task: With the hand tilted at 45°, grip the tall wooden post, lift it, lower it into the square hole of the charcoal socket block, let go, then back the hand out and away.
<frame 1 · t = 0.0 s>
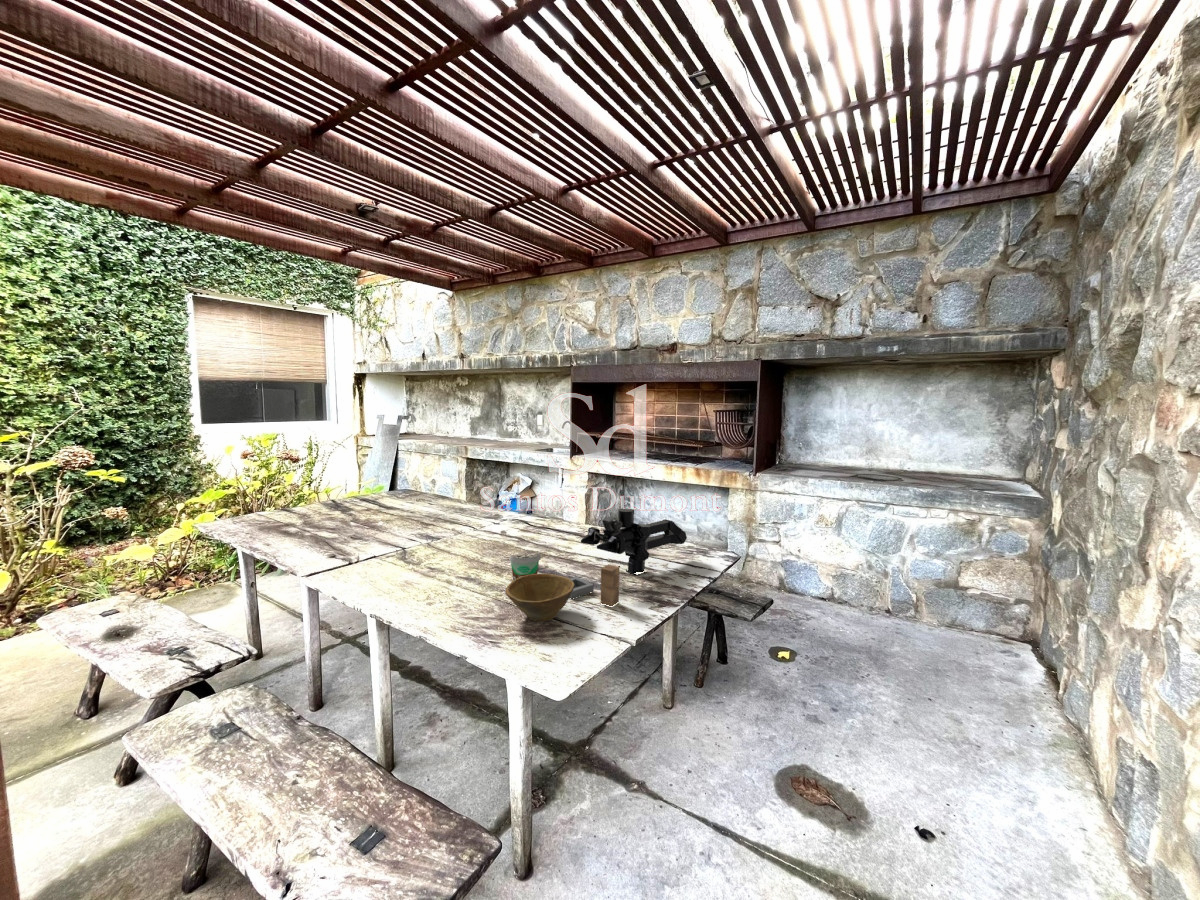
hand: (588, 544, 182), 17 cm above the table, tool horizontal, fingers open, 9 cm apart
bowl: (540, 615, 161), on the table
socket: (574, 591, 180), on the table
tall wooden post: (609, 604, 170), on the table
food container: (525, 581, 190), on the table
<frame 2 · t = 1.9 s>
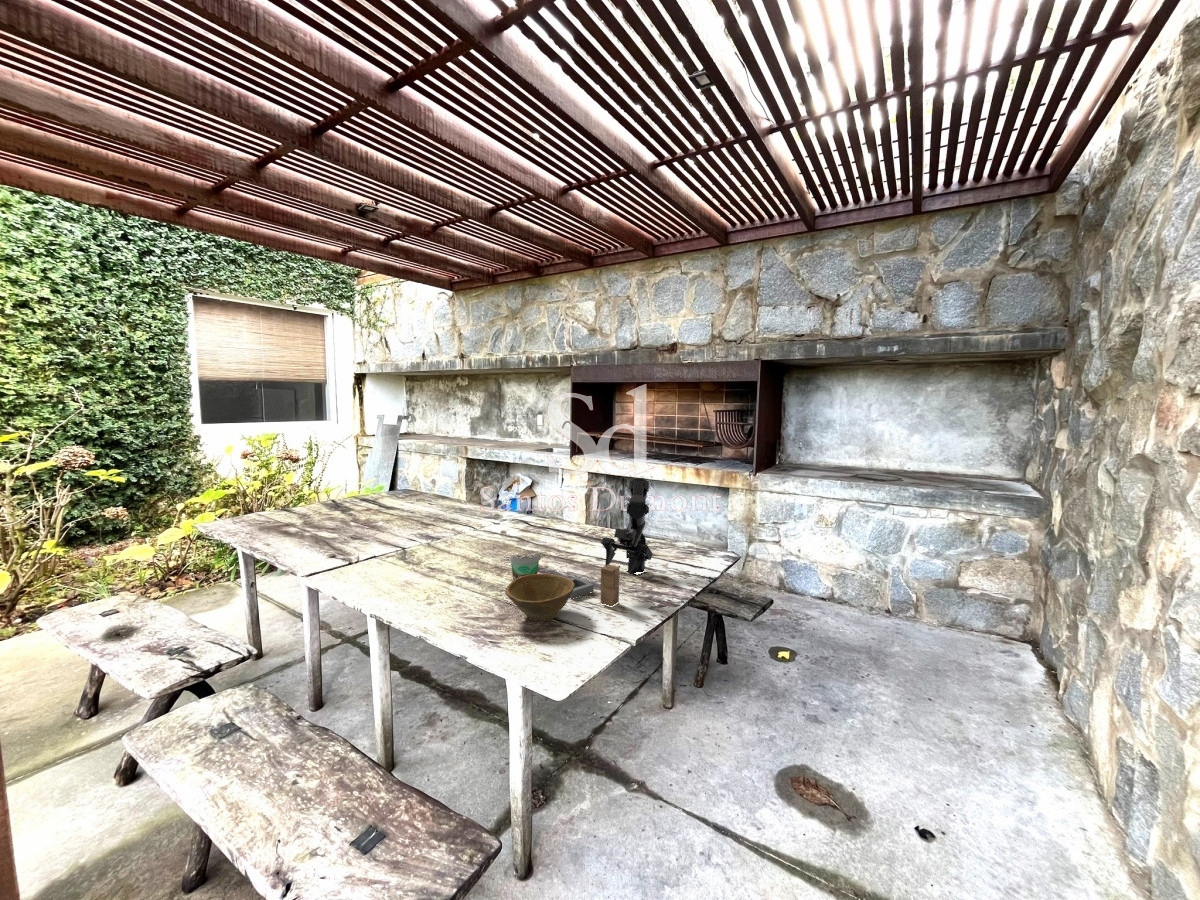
hand: (617, 569, 172), 11 cm above the table, tool tilted 45°, fingers open, 9 cm apart
nothing on the table moved.
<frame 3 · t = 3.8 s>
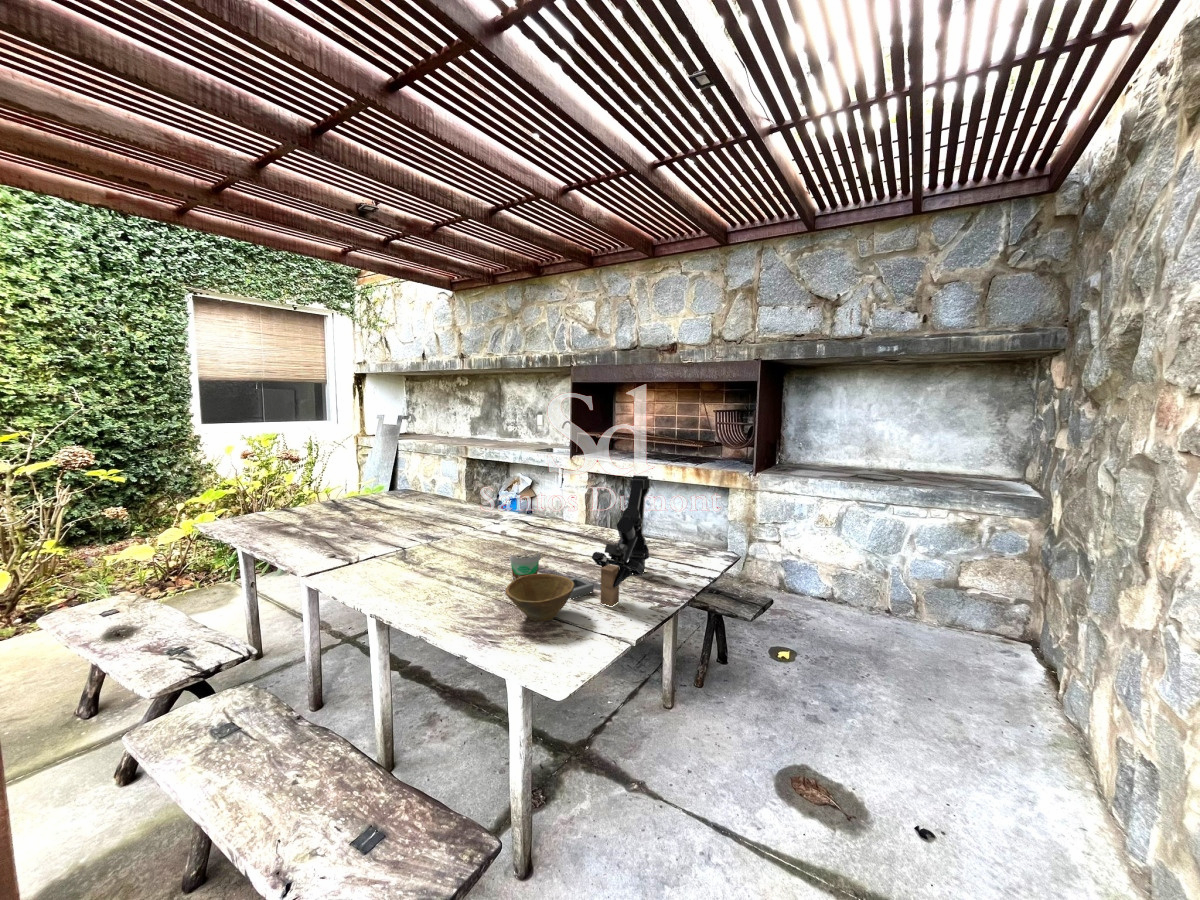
hand: (607, 585, 168), 7 cm above the table, tool tilted 45°, fingers closed on tall wooden post, 4 cm apart
tall wooden post: (609, 604, 170), on the table, touching gripper
everything else where it was.
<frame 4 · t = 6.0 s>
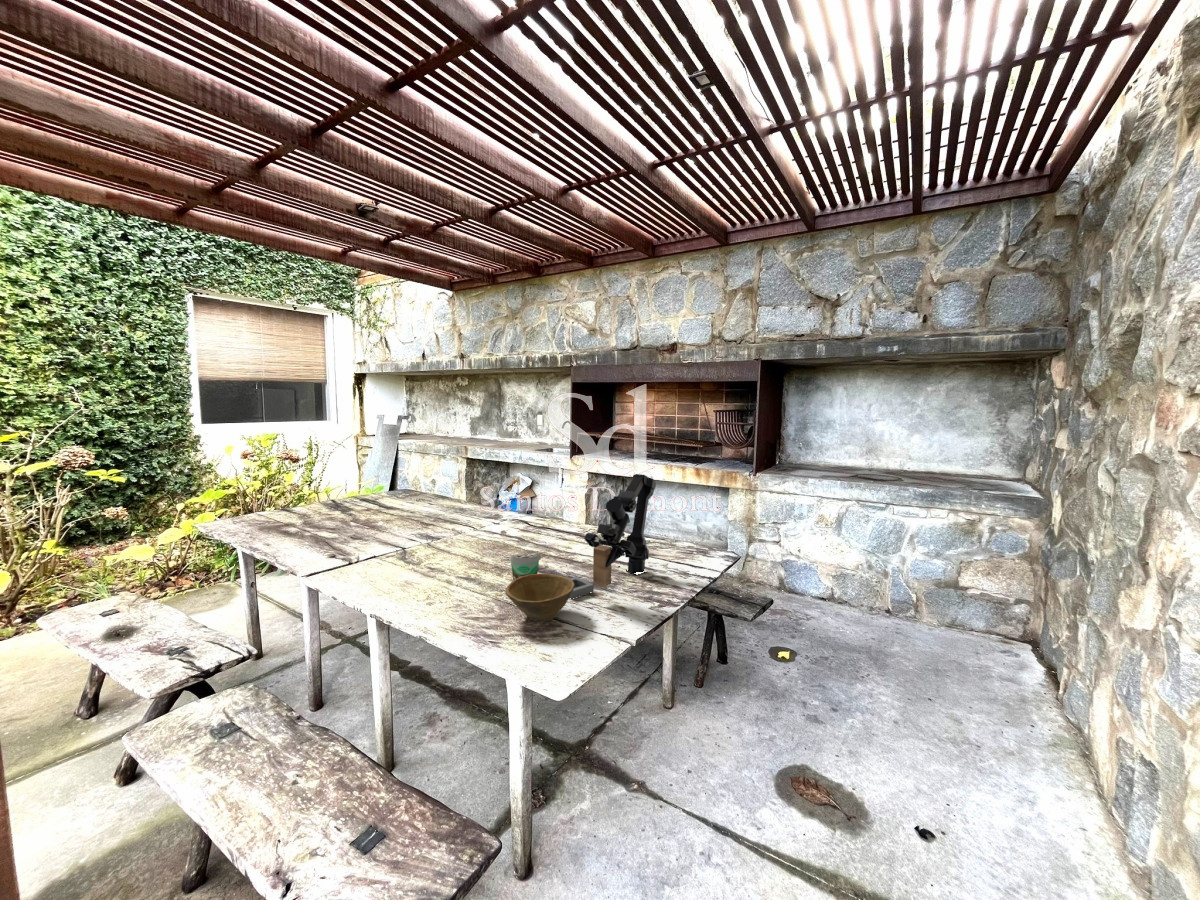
hand: (600, 565, 169), 13 cm above the table, tool tilted 45°, fingers closed on tall wooden post, 4 cm apart
tall wooden post: (602, 583, 171), point 6 cm above the table, touching gripper
everything else where it was.
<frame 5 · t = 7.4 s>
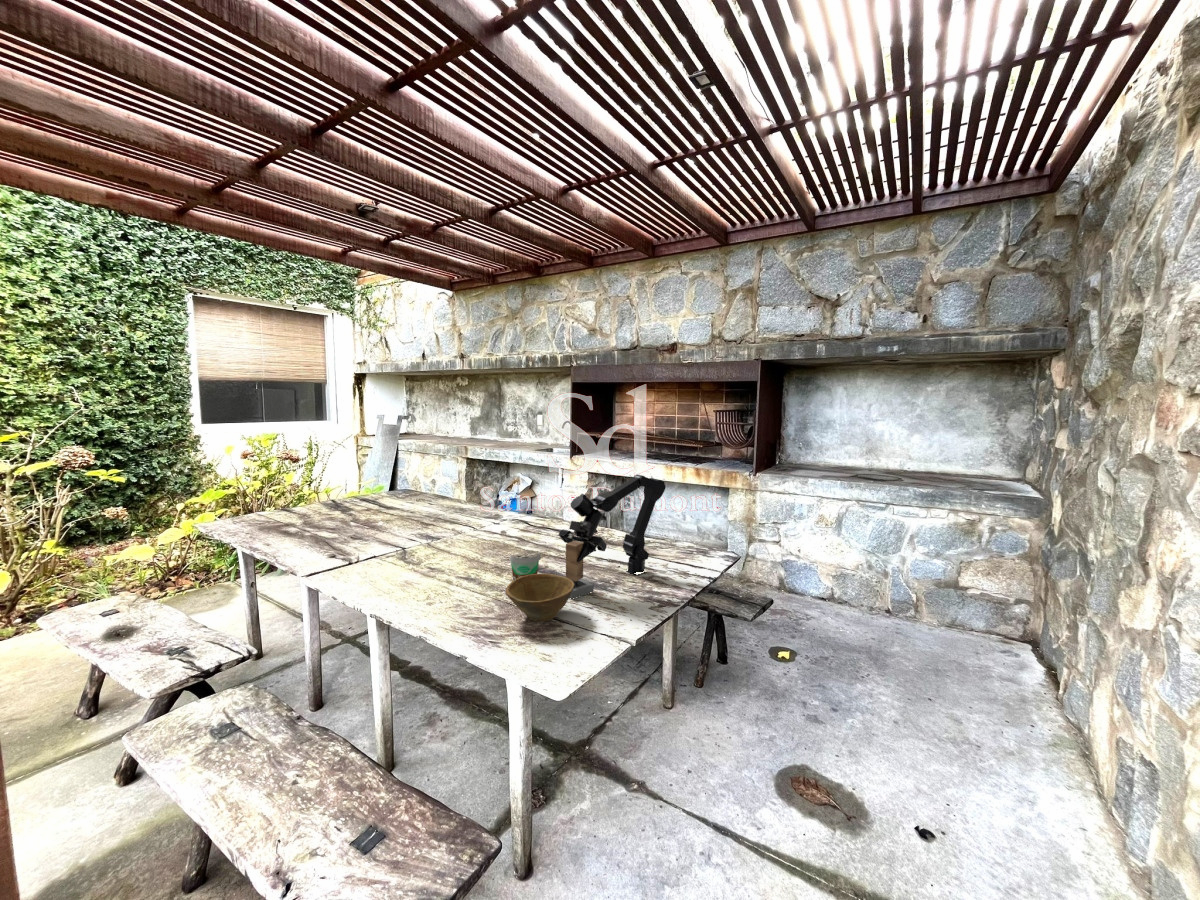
hand: (572, 560, 177), 12 cm above the table, tool tilted 45°, fingers closed on tall wooden post, 4 cm apart
tall wooden post: (574, 578, 179), point 5 cm above the table, touching gripper
everything else where it was.
when the fingers open (8 cm above the table, at t = 8.6 s): tall wooden post stays where it is, resting on socket.
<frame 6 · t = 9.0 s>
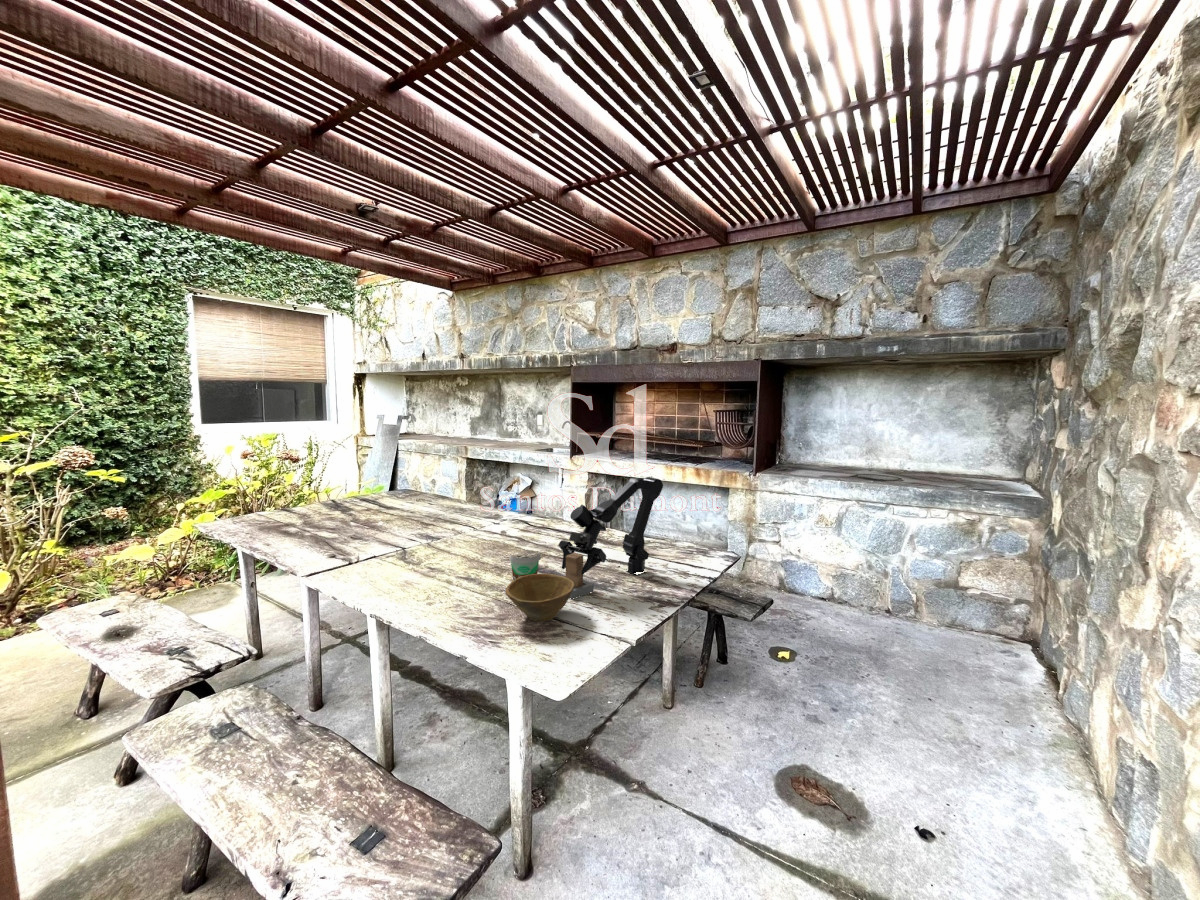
hand: (572, 571, 178), 8 cm above the table, tool tilted 45°, fingers open, 8 cm apart
tall wooden post: (574, 590, 180), point 1 cm above the table, touching socket
everything else where it was.
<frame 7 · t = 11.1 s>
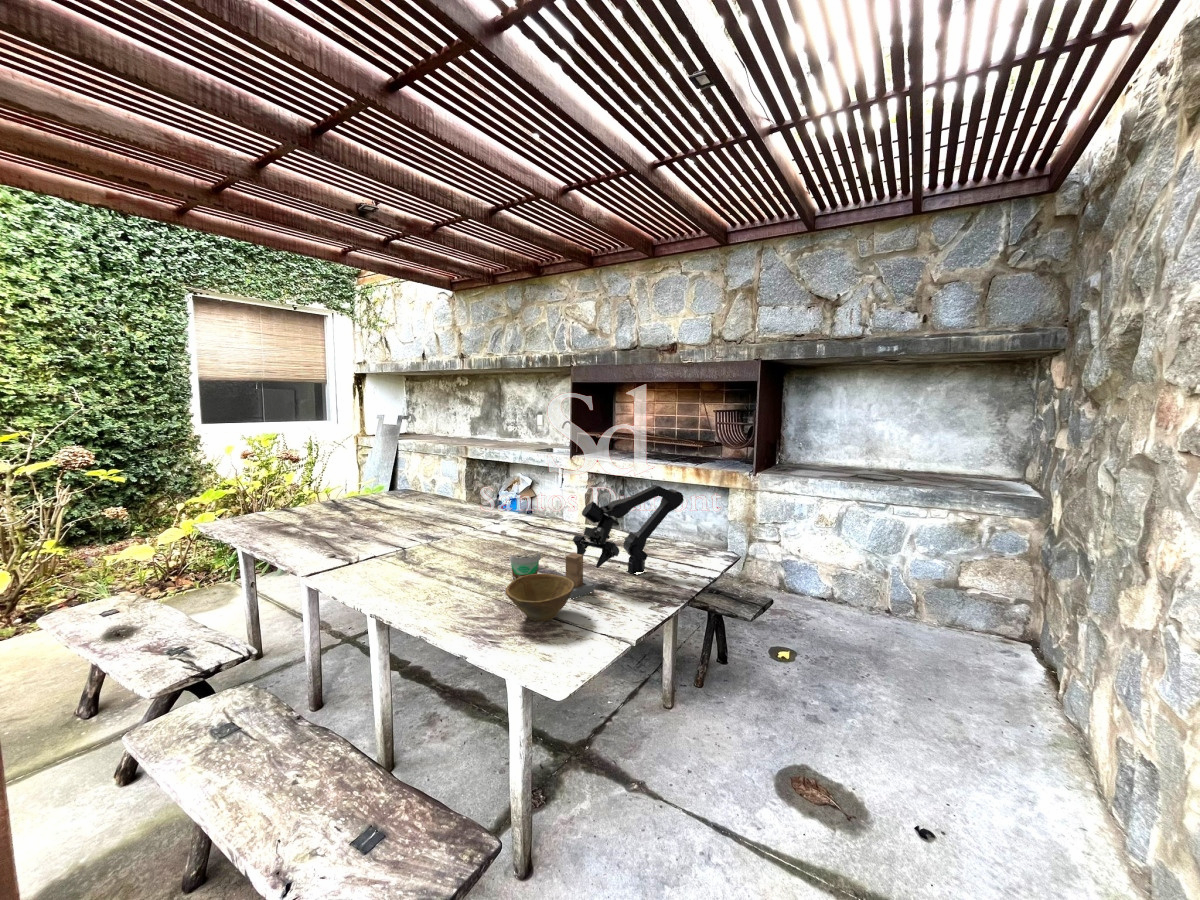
hand: (586, 565, 185), 8 cm above the table, tool tilted 45°, fingers open, 9 cm apart
nothing on the table moved.
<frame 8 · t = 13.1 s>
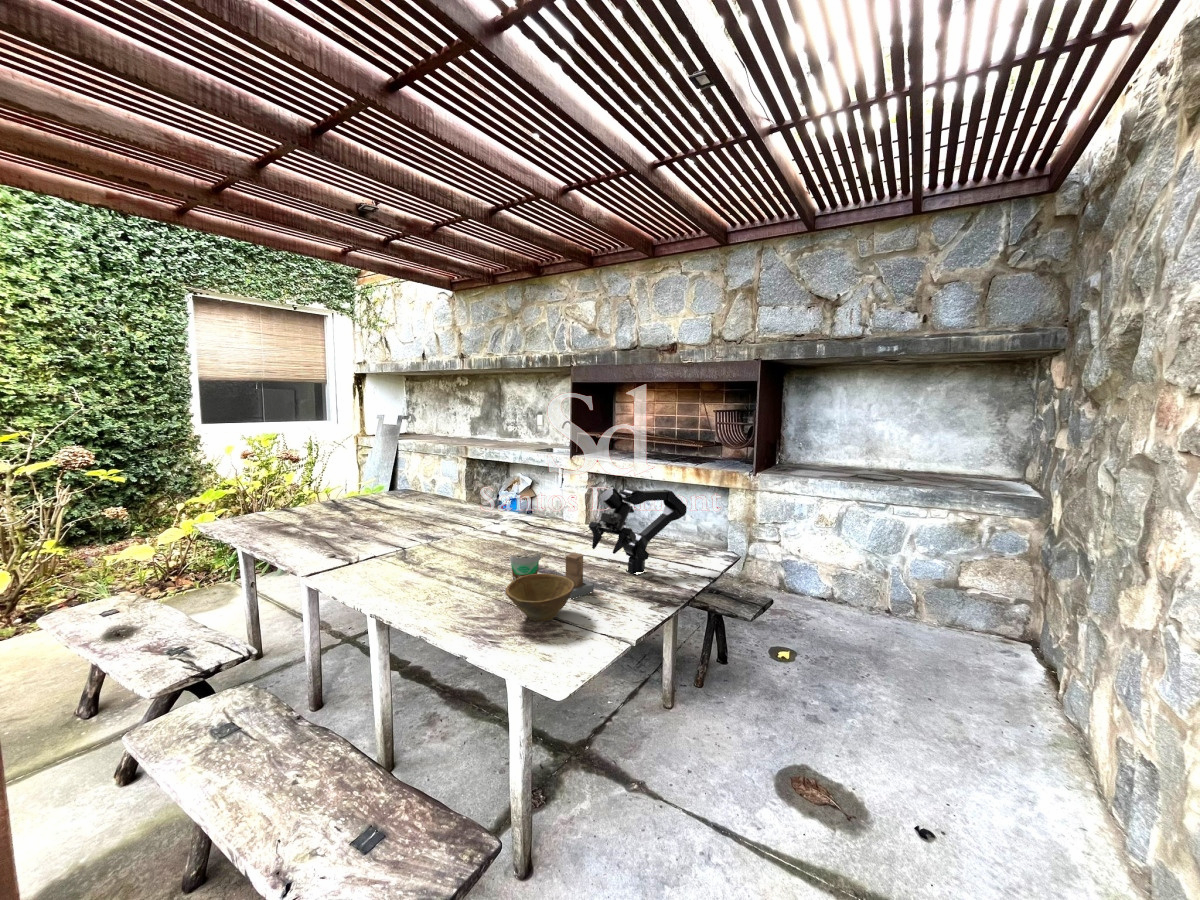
hand: (603, 550, 184), 14 cm above the table, tool tilted 45°, fingers open, 9 cm apart
nothing on the table moved.
at the end: tall wooden post 0.0 cm off-centre on the socket, point 0.6 cm above the socket's base; tall wooden post tilted 0°; the gripper is holding nothing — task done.
